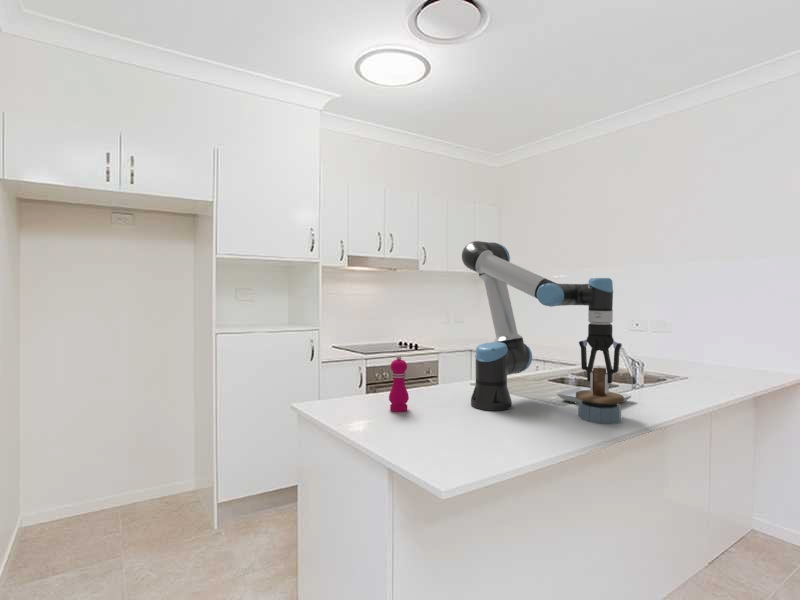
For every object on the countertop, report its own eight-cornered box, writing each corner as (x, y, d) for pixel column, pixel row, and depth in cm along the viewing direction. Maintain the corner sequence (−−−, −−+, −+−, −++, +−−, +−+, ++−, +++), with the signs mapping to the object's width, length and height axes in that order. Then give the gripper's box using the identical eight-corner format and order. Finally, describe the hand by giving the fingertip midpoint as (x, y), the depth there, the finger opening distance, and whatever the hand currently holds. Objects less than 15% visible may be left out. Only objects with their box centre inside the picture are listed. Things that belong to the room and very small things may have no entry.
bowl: (574, 419, 154) (574, 404, 153) (584, 411, 164) (584, 397, 164) (616, 426, 146) (616, 410, 146) (623, 417, 157) (623, 402, 157)
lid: (570, 399, 153) (570, 369, 153) (582, 391, 165) (582, 363, 165) (619, 406, 144) (619, 374, 144) (627, 397, 157) (627, 367, 156)
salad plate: (632, 402, 178) (632, 394, 178) (610, 412, 164) (610, 403, 164) (580, 393, 194) (580, 385, 194) (555, 402, 179) (555, 393, 179)
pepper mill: (396, 406, 171) (396, 353, 170) (412, 409, 167) (412, 354, 166) (384, 410, 165) (384, 355, 165) (401, 413, 161) (401, 357, 160)
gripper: (571, 322, 156) (570, 390, 157) (625, 325, 146) (624, 397, 147) (577, 321, 162) (576, 386, 163) (629, 323, 153) (628, 393, 153)
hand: (599, 391), depth 155 cm, fingers closed on lid, 4 cm apart
